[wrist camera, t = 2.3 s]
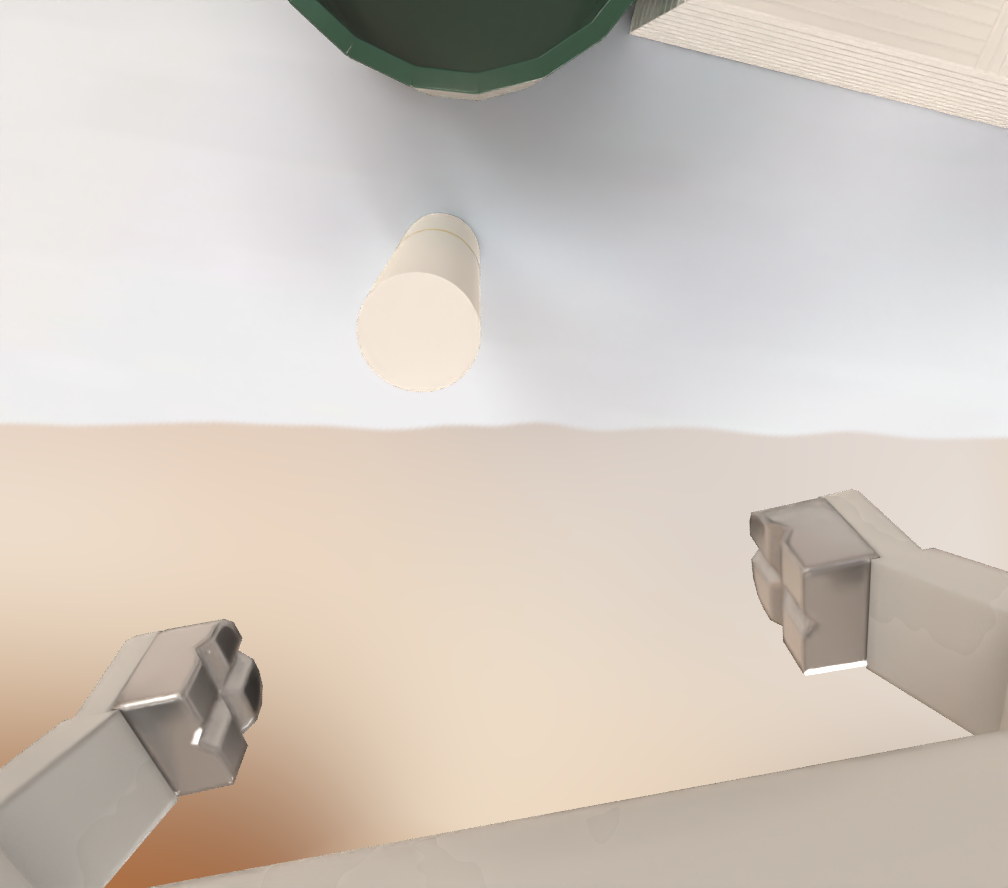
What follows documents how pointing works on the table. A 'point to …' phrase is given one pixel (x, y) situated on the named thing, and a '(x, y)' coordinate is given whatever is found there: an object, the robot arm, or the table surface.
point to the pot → (464, 39)
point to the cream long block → (856, 45)
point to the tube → (425, 307)
